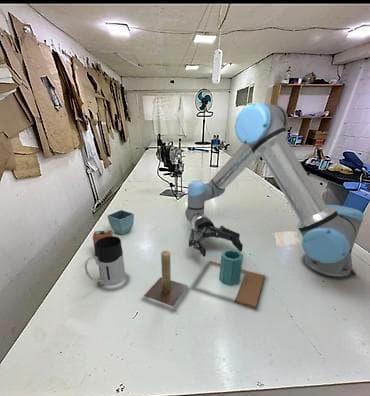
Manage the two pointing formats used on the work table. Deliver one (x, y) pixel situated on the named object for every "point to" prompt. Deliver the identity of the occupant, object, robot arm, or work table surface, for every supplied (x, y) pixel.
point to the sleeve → (230, 267)
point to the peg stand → (166, 284)
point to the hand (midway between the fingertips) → (223, 250)
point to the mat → (248, 288)
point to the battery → (100, 236)
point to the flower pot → (121, 221)
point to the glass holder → (109, 261)
